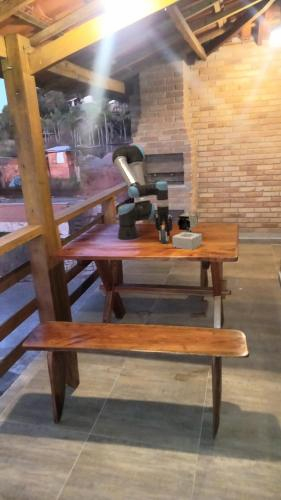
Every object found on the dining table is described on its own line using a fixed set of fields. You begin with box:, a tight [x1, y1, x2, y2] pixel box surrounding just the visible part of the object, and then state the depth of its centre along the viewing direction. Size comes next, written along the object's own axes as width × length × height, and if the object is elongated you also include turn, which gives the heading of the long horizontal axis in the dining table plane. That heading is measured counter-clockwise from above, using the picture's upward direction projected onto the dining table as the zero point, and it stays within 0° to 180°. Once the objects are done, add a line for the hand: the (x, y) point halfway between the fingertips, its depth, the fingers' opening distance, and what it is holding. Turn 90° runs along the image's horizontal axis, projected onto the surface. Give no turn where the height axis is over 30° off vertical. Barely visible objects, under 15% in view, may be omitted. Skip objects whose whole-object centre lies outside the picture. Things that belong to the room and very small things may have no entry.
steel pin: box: [160, 223, 169, 245], centre depth 253 cm, size 4×4×12 cm
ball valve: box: [177, 211, 199, 233], centre depth 263 cm, size 18×8×18 cm, turn 148°
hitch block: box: [171, 231, 203, 251], centre depth 245 cm, size 14×13×7 cm
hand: (164, 240), depth 255 cm, fingers closed on steel pin, 4 cm apart
